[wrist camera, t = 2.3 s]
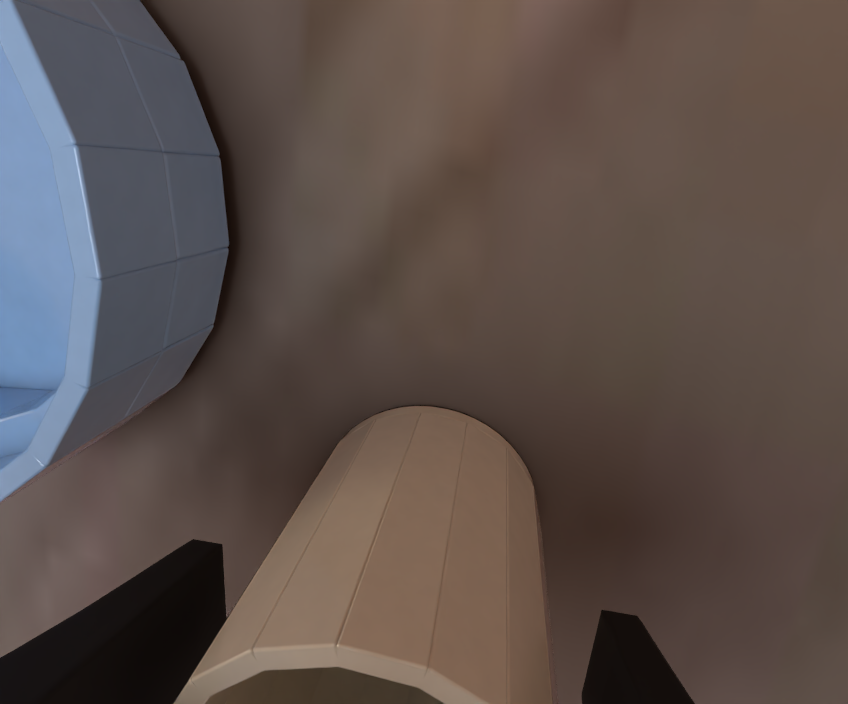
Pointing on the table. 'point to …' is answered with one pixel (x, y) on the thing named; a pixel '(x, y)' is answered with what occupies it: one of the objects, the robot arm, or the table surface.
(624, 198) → the table surface
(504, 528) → the cup
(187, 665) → the robot arm
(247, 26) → the table surface
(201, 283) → the bowl
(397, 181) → the table surface
